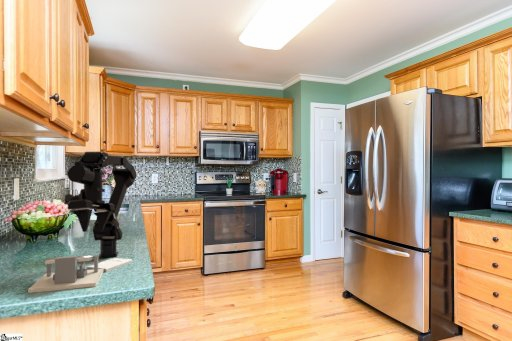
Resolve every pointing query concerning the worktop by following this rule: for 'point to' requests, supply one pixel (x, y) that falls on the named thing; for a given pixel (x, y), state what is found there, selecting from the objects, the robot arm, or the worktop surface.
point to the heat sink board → (78, 284)
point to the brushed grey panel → (80, 258)
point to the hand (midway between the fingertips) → (92, 231)
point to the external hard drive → (111, 264)
